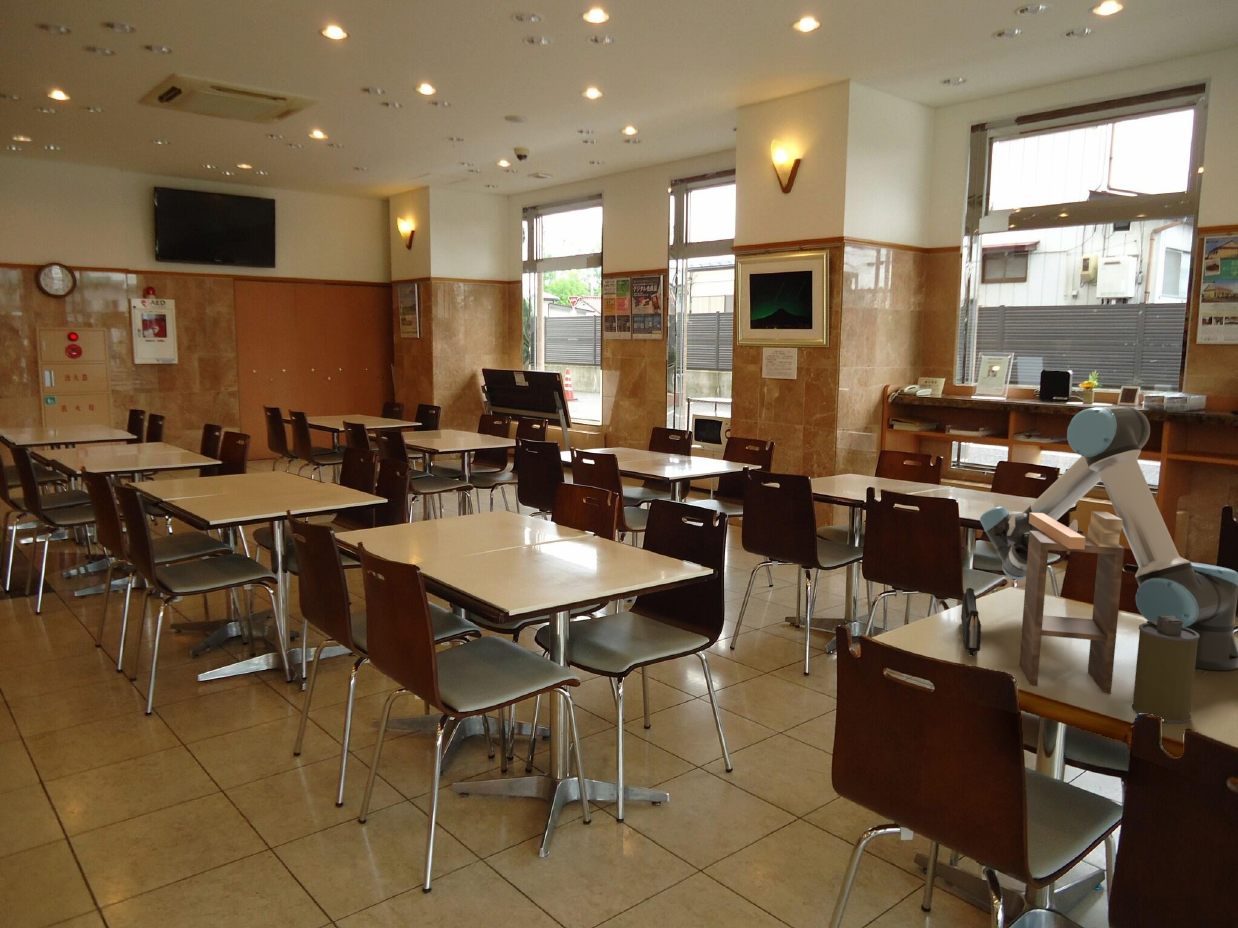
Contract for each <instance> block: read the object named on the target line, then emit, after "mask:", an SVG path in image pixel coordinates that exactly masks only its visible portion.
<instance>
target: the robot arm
mask: <svg viewBox="0 0 1238 928" xmlns="http://www.w3.org/2000/svg"><path fill="white" fill-rule="evenodd" d="M1072 417H1073V418H1072V419H1071V421H1070V423H1069V425H1068V427H1067V433H1066V438H1067V443H1068V445H1069V447H1070V448H1071V449H1072V451H1073V452H1074V453H1076V454H1078V455H1080V457H1079V458H1078V459H1077V460H1076V461H1075V462H1074V463H1073V464H1072V465H1070V467H1069V468H1068V469H1067V470H1065V472H1064V473H1063V474H1062V475H1060V476H1059V477H1058V478H1057V479H1056V480H1055V482H1053V483H1052V484H1051V485H1049V487H1048V488H1047V489H1045V491H1044V492H1042V494H1040V496H1039V497H1038V498H1036V499H1035V500H1034V501H1033V502H1032V504H1030V505H1029V506H1028V507H1027V508H1026V509H1025V510H1024V511H1023V512H1019V513H1012V514H1011V513H1010V512H1009V511H1008V510H1007V509H1006V507H1004V506H1002V505H1001V506H995V507H993V508H991V509H988V510H987V511H985V512H984V513H982V514H981V516H980V517H979V521H980V523H981V525H982V527H983V531H984V532H985V533H986V535H987V537H988V539H989V540H990V542H991V544H992V545H993V547H994V548H995V550H996V552H997V554H998V556H999V558H1000V559H1001V561H1002V564H1001V568H1002V571H1003V572H1004V574H1005V575H1006V576H1007V577H1008V578H1010V579H1013V580H1016V581H1018V580H1023V579H1026V570H1027V557H1028V544H1029V531H1041V530H1039V529H1038V528H1036V527H1034V526H1033V525H1031V524H1030V523H1029V513H1044V514H1045V515H1047V516H1049V517H1051V518H1052V519H1054V520H1056V521H1058V520H1059V519H1060V518H1061V517H1062V516H1063V515H1064V514H1065V513H1067V512H1068V511H1069V510H1070V509H1071V508H1072V507H1073V506H1074V505H1076V503H1078V501H1080V500H1081V499H1082V498H1083V497H1084V496H1086V494H1087V493H1089V491H1091V490H1092V489H1093V488H1094V487H1095V486H1096V485H1098V484H1099V483H1100V482H1102V484H1103V486H1104V488H1105V491H1106V494H1107V496H1108V498H1109V500H1110V502H1111V504H1112V507H1113V509H1114V511H1115V515H1116V517H1118V518H1120V519H1122V530H1123V533H1124V535H1125V538H1126V540H1127V542H1128V545H1129V547H1130V549H1131V552H1132V554H1133V556H1134V559H1135V561H1136V564H1137V565H1138V569H1137V571H1136V573H1135V575H1134V577H1135V580H1136V582H1137V584H1138V588H1137V590H1136V591H1137V592H1136V594H1135V604H1136V607H1137V609H1138V611H1139V612H1140V614H1141V615H1142V616H1143V618H1144V619H1146V620H1147V621H1157V620H1158V616H1175V617H1177V619H1179V620H1181V621H1182V622H1183V625H1182V627H1185V628H1188V629H1191V630H1193V631H1195V632H1197V633H1198V634H1199V635H1200V637H1199V639H1198V645H1197V654H1196V663H1195V669H1196V668H1198V669H1202V670H1209V671H1233V670H1237V669H1238V646H1237V642H1236V638H1235V634H1234V633H1235V631H1234V630H1235V621H1236V620H1235V619H1236V612H1237V606H1238V572H1237V571H1236V570H1234V569H1231V568H1227V567H1222V566H1217V565H1212V564H1206V563H1200V562H1192V561H1190V560H1188V559H1186V558H1184V557H1182V556H1180V554H1179V552H1178V550H1177V548H1176V545H1175V543H1174V540H1173V539H1172V536H1171V534H1170V532H1169V530H1168V527H1167V525H1166V523H1165V521H1164V518H1163V516H1162V514H1161V511H1160V509H1159V507H1158V505H1157V502H1156V500H1155V498H1154V496H1153V493H1152V492H1151V489H1150V487H1149V485H1148V483H1147V480H1146V477H1145V475H1144V472H1143V471H1142V469H1141V466H1140V464H1139V462H1138V459H1139V457H1140V454H1141V452H1142V448H1143V447H1145V445H1146V444H1147V442H1148V440H1149V438H1150V434H1151V425H1150V422H1149V420H1148V418H1147V417H1146V415H1145V414H1144V413H1143V412H1142V411H1140V410H1138V409H1137V408H1135V407H1131V406H1126V405H1124V406H1123V405H1121V406H1107V407H1106V406H1095V407H1091V408H1086V409H1083V410H1081V411H1078V413H1076V414H1075V415H1074V416H1072ZM1067 527H1068V528H1070V529H1071V530H1073V531H1075V532H1077V533H1078V534H1084V531H1083V530H1080V527H1079V524H1078V519H1073V520H1072V521H1071V523H1070V524H1069V525H1068V526H1067ZM1055 552H1059V551H1058V550H1055ZM1236 668H1237V669H1236Z"/></svg>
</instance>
